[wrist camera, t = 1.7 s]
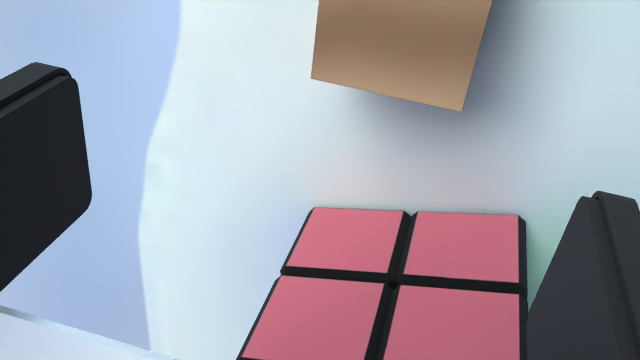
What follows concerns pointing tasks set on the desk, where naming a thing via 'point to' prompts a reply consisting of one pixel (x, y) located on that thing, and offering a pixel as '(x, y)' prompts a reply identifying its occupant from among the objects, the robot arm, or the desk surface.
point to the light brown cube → (401, 47)
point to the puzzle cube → (397, 289)
